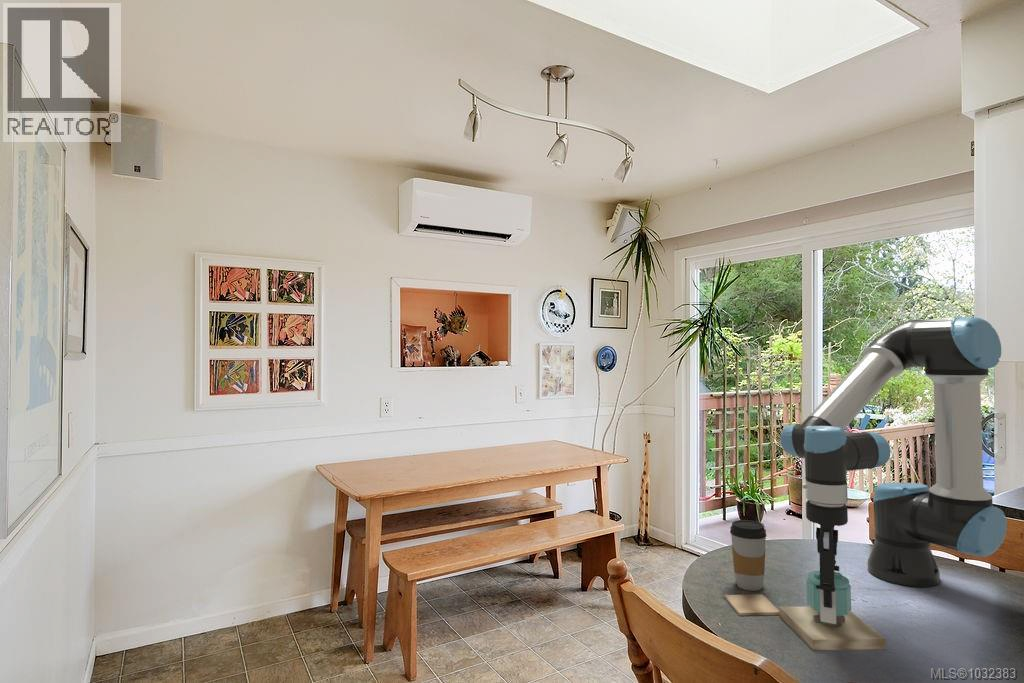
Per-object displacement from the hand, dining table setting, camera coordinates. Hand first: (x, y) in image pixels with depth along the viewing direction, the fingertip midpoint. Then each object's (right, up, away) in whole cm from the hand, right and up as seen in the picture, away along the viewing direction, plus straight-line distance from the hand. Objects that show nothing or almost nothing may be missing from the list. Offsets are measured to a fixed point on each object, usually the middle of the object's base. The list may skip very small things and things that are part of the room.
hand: (829, 611), depth 116 cm
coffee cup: (-7, -5, +23) cm, 24 cm away
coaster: (-11, -4, +12) cm, 17 cm away
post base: (0, -4, 0) cm, 4 cm away
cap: (0, +1, 0) cm, 1 cm away
